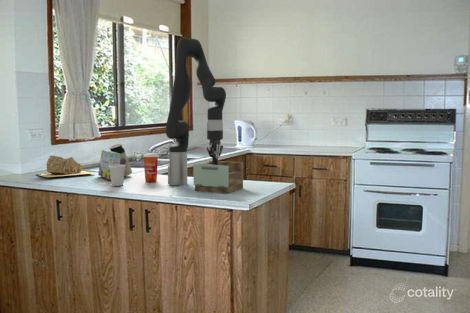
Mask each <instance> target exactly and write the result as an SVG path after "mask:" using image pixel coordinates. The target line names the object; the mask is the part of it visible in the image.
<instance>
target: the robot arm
mask: <svg viewBox="0 0 470 313" xmlns="http://www.w3.org/2000/svg"><path fill="white" fill-rule="evenodd" d="M205 55H206V54H205V53H204V50H203V46H202V44H201V42H200V40H198V39H196V38H190V37H181V38H179V39H178V42H177V45H176V57H175V58H176V59H175V60H176V61H175V73H174V80H173V84H172V85H173V86H172V93H171V101H170V106H169V111H168V112H169V113H168V116H167V119H166V120H167V121H166V124H165V135H166V136H167V138H168V139H170V140H175V142H174V143H173V144H171V145H170V146H169V147H168V149H169V150H168V151H169V153H168V156H169V157H168V158H169V160H168V161H169V166H167V185H170V186H185V185H188V147H189V140H190V139H189V138H190V131H189V129H190V127H189V125H188V122H186V121H184V120H180V116H181V113H182V111H183V109H184V108H185V106H186V105H187V104H188V102H189V100H190V97H191V94H192V93H191V92H192V87H193V84H192V80H191V77H190V75H189V72H188V69H187V58H192V59H194V60H195V61H196V64H197V65H196V71H195V73H196V77H197V79H198V81H199V82H200V85H201V90H202V96H203V98H204V99H205V101H206V102H209V103H214V105H213V106H211V107H208V109H207V121H206V137H207V138H206V139H207V140H209V143H208V144H209V146H206V150H207V153H208V156H209V157H210V158H212V159H211V161H212V165H218V161H219V157H221V155H222V151H223V150H224V145H221V140H224V122H223V110H224V107H225V102H226V99H227V92H226V90H225V88H224V87H222V86H215V85H216V82H217V81H216V79H215V77H214V75H213V73H212V71H211V69H210V66H209V65H208V62H207V59H206V56H205Z"/></svg>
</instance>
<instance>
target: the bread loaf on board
mask: <svg viewBox="0 0 470 313" xmlns="http://www.w3.org/2000/svg"><path fill="white" fill-rule="evenodd" d="M46 172H47V173H51V174H44V173H40V174H41V175H39V176H41V177H43V178H44V177H45V178H54V177H55V178H56V177H65V176H66V177H67V176H77V175H78V176H79V175H89V174H90V175H91V174H93V172H91V171H85V170H84V169H83V165H81V164H80V163H78V162H77V161H76V160H75V159H74V157H73V156H71V157H67V158H64V157H62V156H59V155H58V156H57V155H50V156H49V157H48V159H47V161H46Z"/></svg>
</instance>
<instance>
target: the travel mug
mask: <svg viewBox="0 0 470 313" xmlns="http://www.w3.org/2000/svg"><path fill="white" fill-rule="evenodd" d="M108 148H109V151H112V152H116V153H120V154H121V159H120V165H125V170H124V178H125V177H127V176H130V175H131V174H132V173H133V170H132V168H131V165H130V161H129V159H128V156H127V153H126V151H125V148H124V147H123V144H122V143H116V144H113V145H111V146H109V147H108Z"/></svg>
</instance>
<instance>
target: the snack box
mask: <svg viewBox="0 0 470 313" xmlns="http://www.w3.org/2000/svg"><path fill="white" fill-rule="evenodd" d="M100 154H101V155H100V160H99V161H100V162H99V168H98V176H100V177H102V178H104V179H107V180H110V181H111V176H110V169H109V166H110V165H120V159H121V154H120V153H116V152H112V151H111V150H106V149H101V153H100Z"/></svg>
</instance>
